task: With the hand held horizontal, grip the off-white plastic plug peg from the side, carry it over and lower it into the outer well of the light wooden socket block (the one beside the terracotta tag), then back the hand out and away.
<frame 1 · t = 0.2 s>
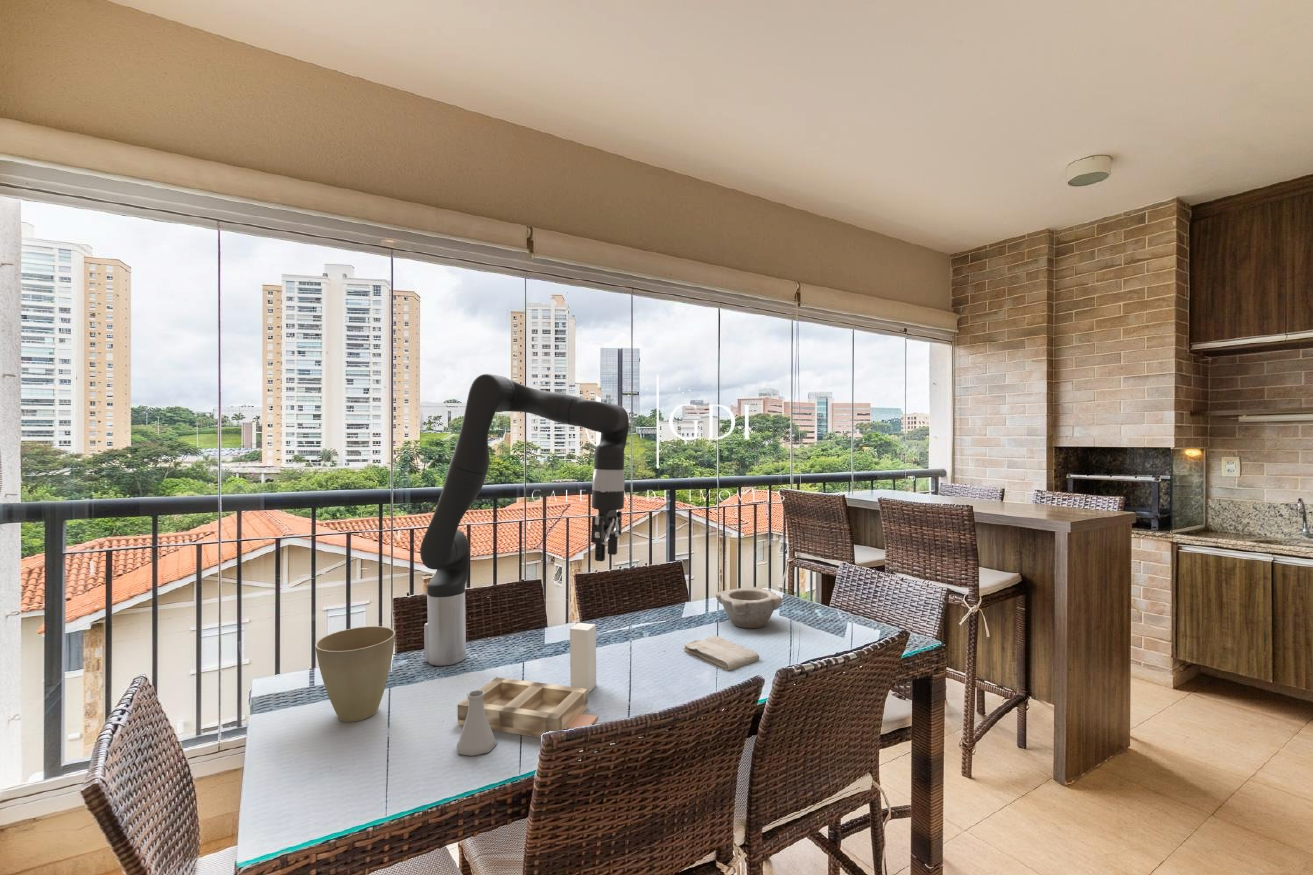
hand: (606, 557, 141), 29 cm above the table, tool pointing down, fingers open, 8 cm apart
mortar: (748, 624, 182), on the table
washcloth: (720, 658, 156), on the table
plant pot: (357, 714, 125), on the table
socket block: (524, 715, 124), on the table
plug peg: (583, 687, 137), on the table
flask: (476, 747, 112), on the table
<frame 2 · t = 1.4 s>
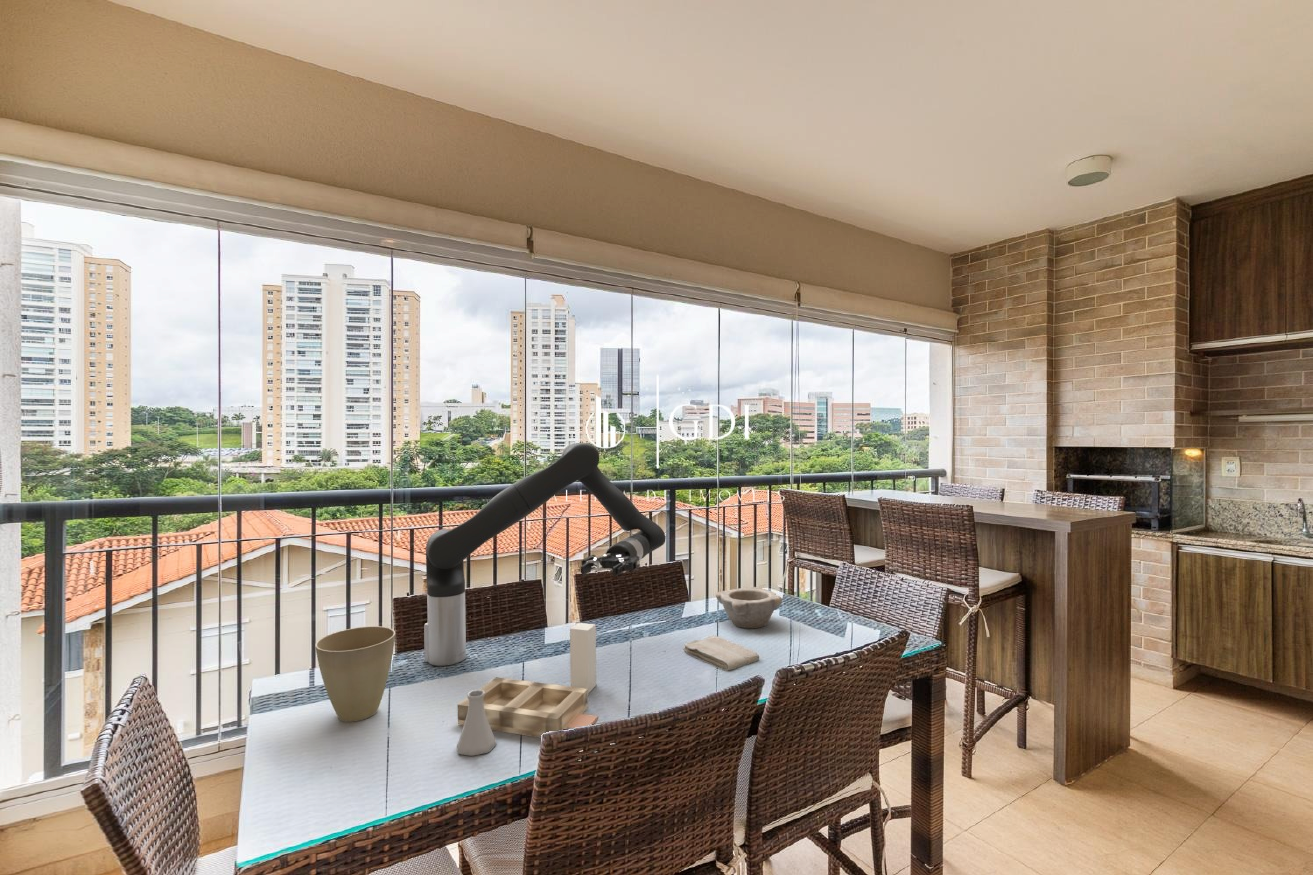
hand: (598, 571, 146), 24 cm above the table, tool horizontal, fingers open, 8 cm apart
nothing on the table moved.
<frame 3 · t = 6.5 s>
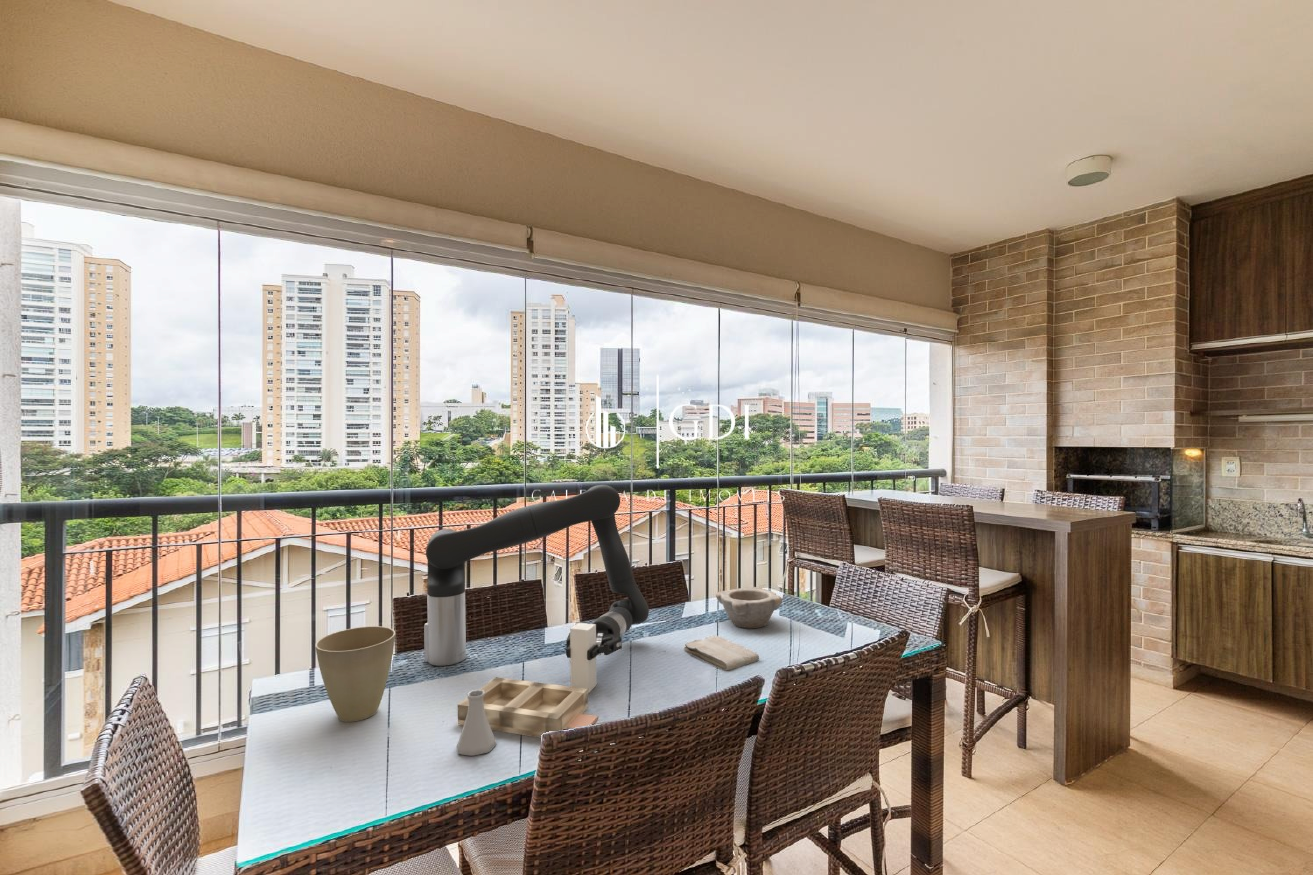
hand: (578, 654, 134), 9 cm above the table, tool horizontal, fingers closed on plug peg, 4 cm apart
plug peg: (583, 687, 137), on the table, touching gripper
everything else where it was.
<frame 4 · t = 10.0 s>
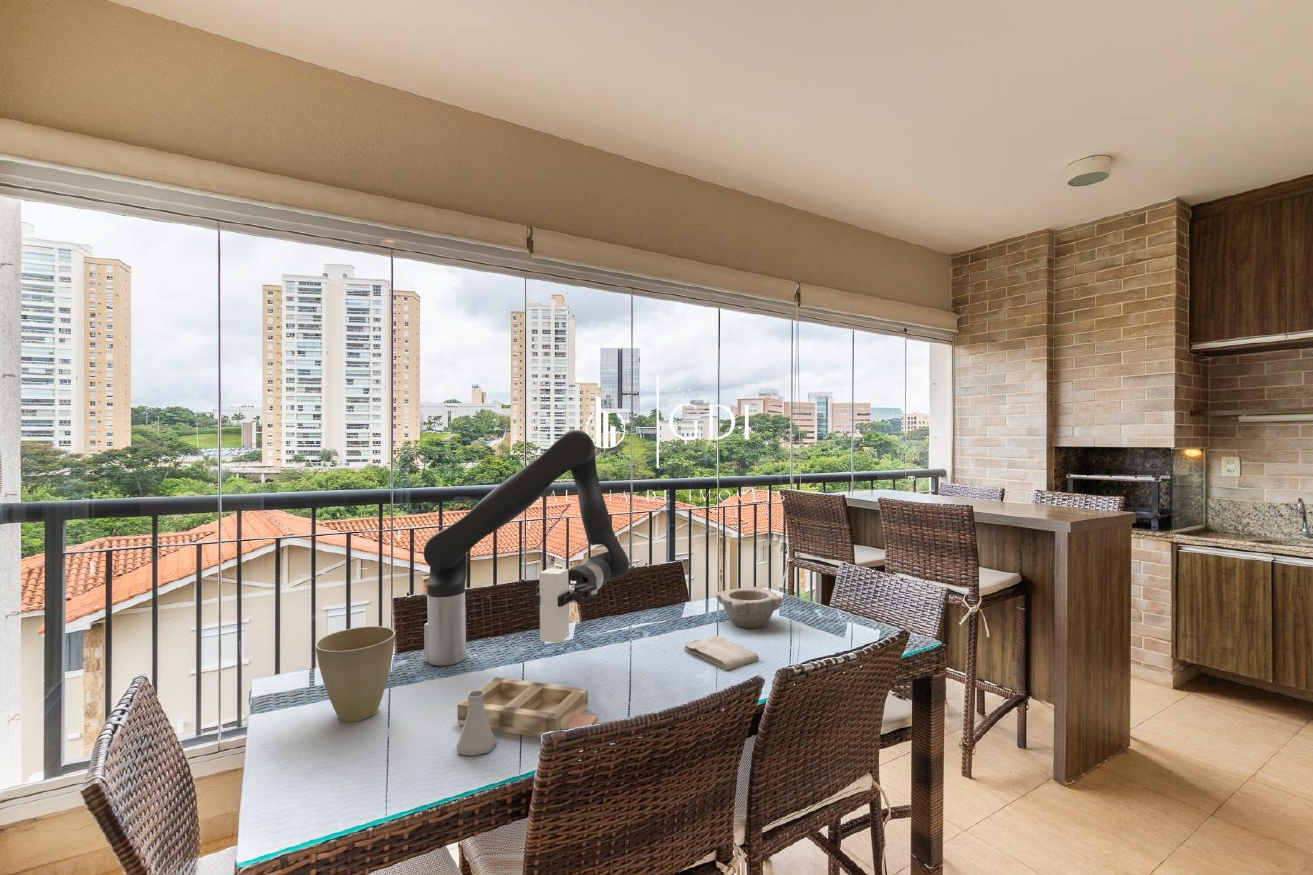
hand: (548, 600, 122), 24 cm above the table, tool horizontal, fingers closed on plug peg, 4 cm apart
plug peg: (554, 638, 125), point 15 cm above the table, touching gripper
everything else where it was.
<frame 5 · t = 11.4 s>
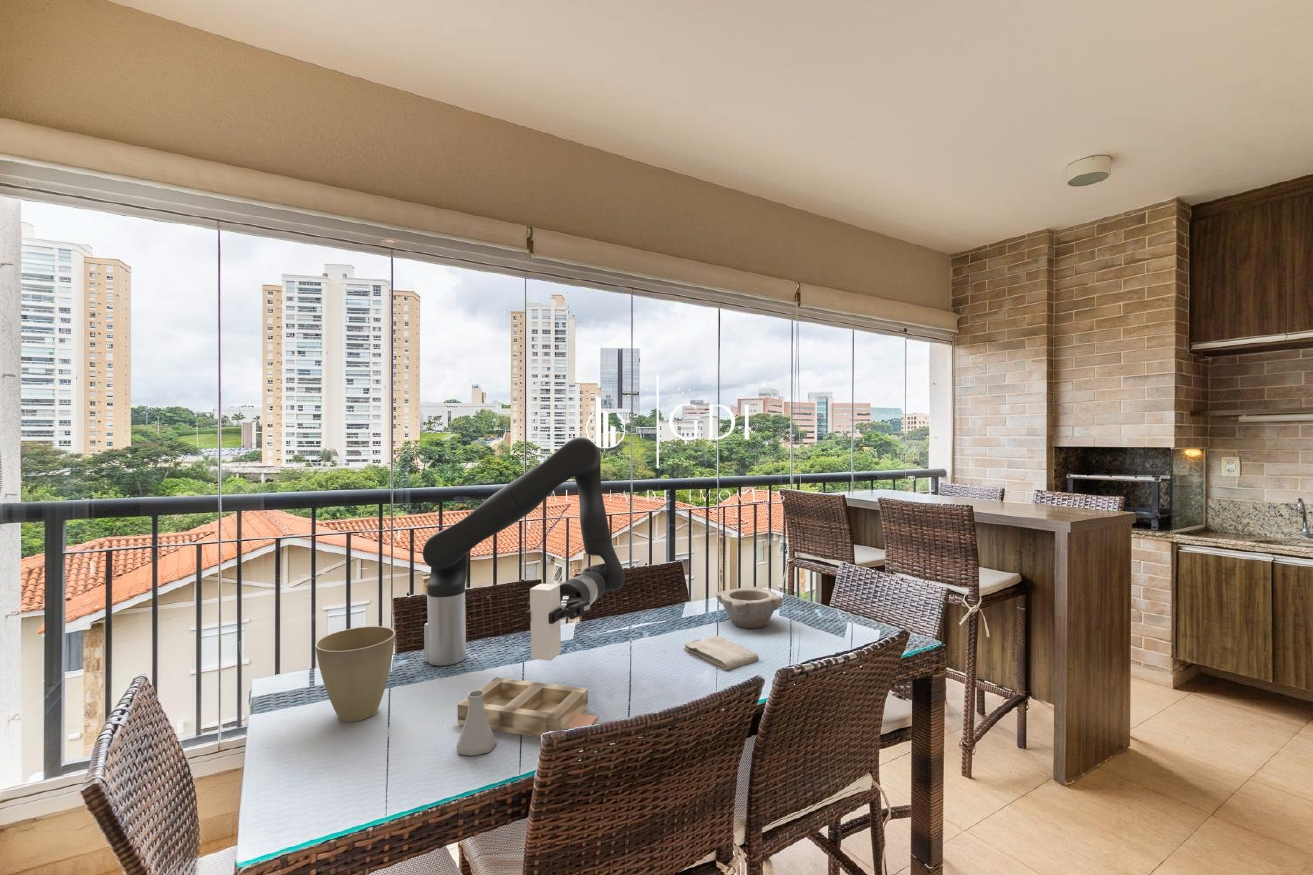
hand: (539, 617, 119), 21 cm above the table, tool horizontal, fingers closed on plug peg, 4 cm apart
plug peg: (546, 655, 122), point 13 cm above the table, touching gripper
everything else where it was.
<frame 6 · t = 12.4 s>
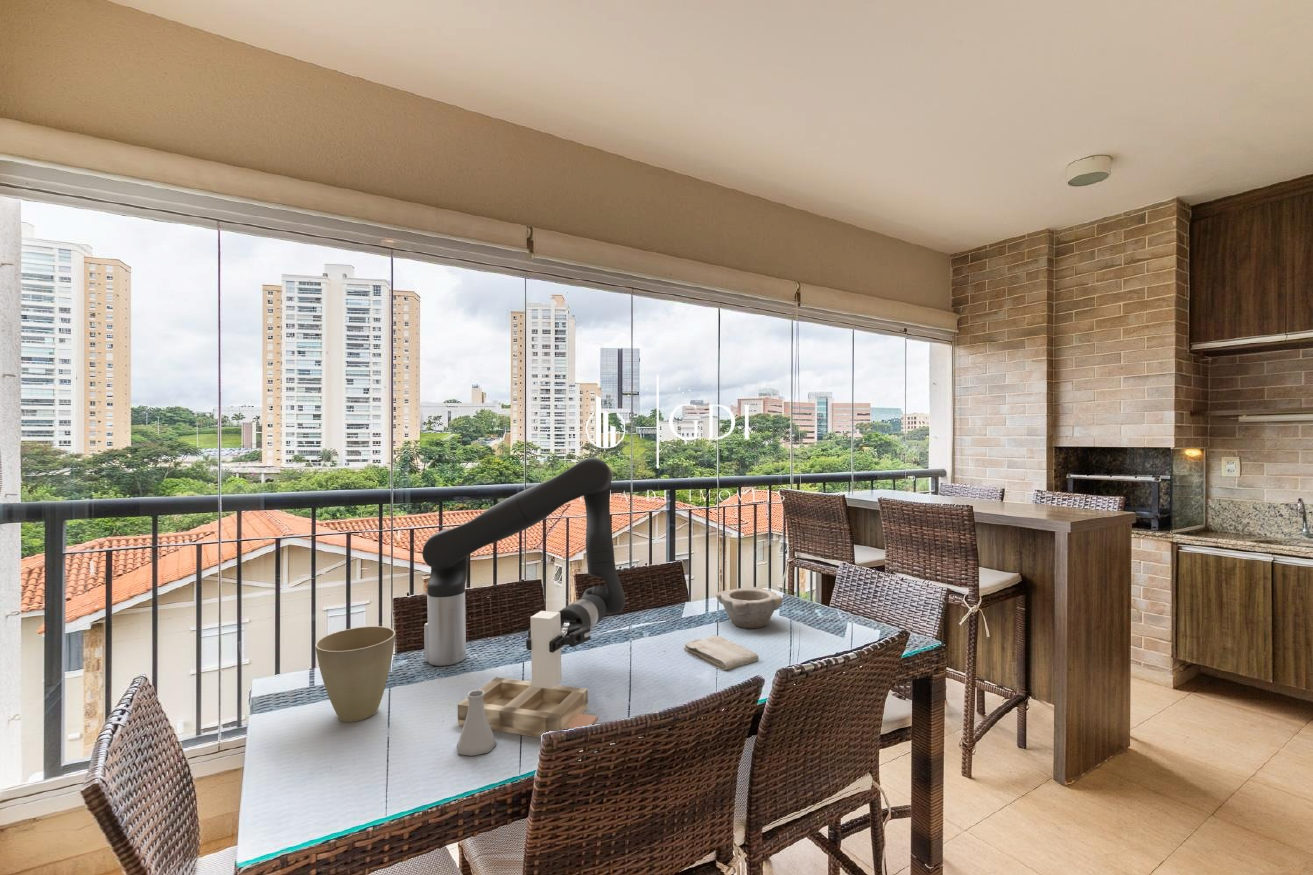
hand: (539, 646, 119), 16 cm above the table, tool horizontal, fingers closed on plug peg, 4 cm apart
plug peg: (547, 683, 122), point 7 cm above the table, touching gripper
everything else where it was.
when the fingers open (10 cm above the table, at t = 14.1 s): plug peg stays where it is, resting on socket block.
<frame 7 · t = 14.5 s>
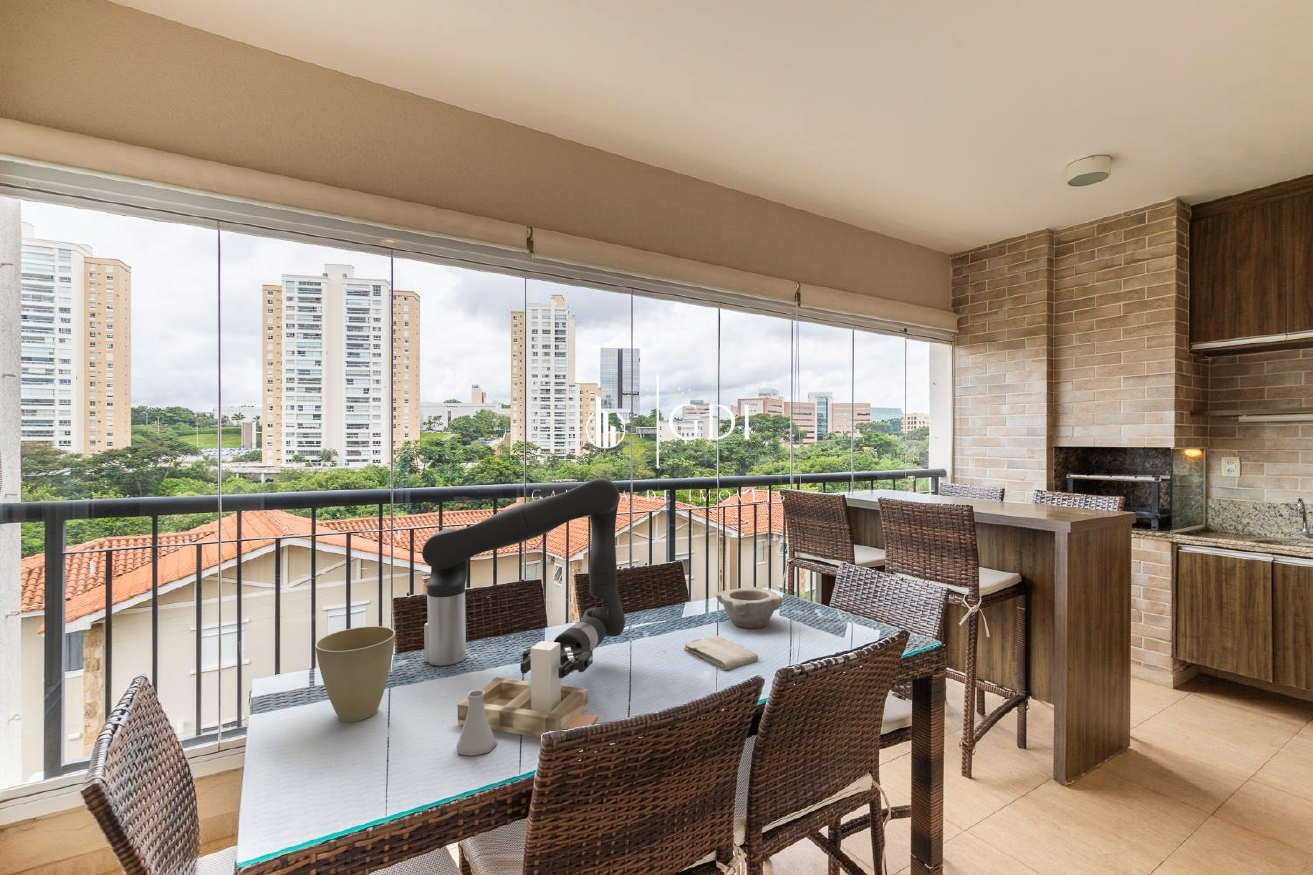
hand: (541, 671, 120), 11 cm above the table, tool horizontal, fingers open, 8 cm apart
plug peg: (546, 714, 122), point 1 cm above the table, touching socket block
everything else where it was.
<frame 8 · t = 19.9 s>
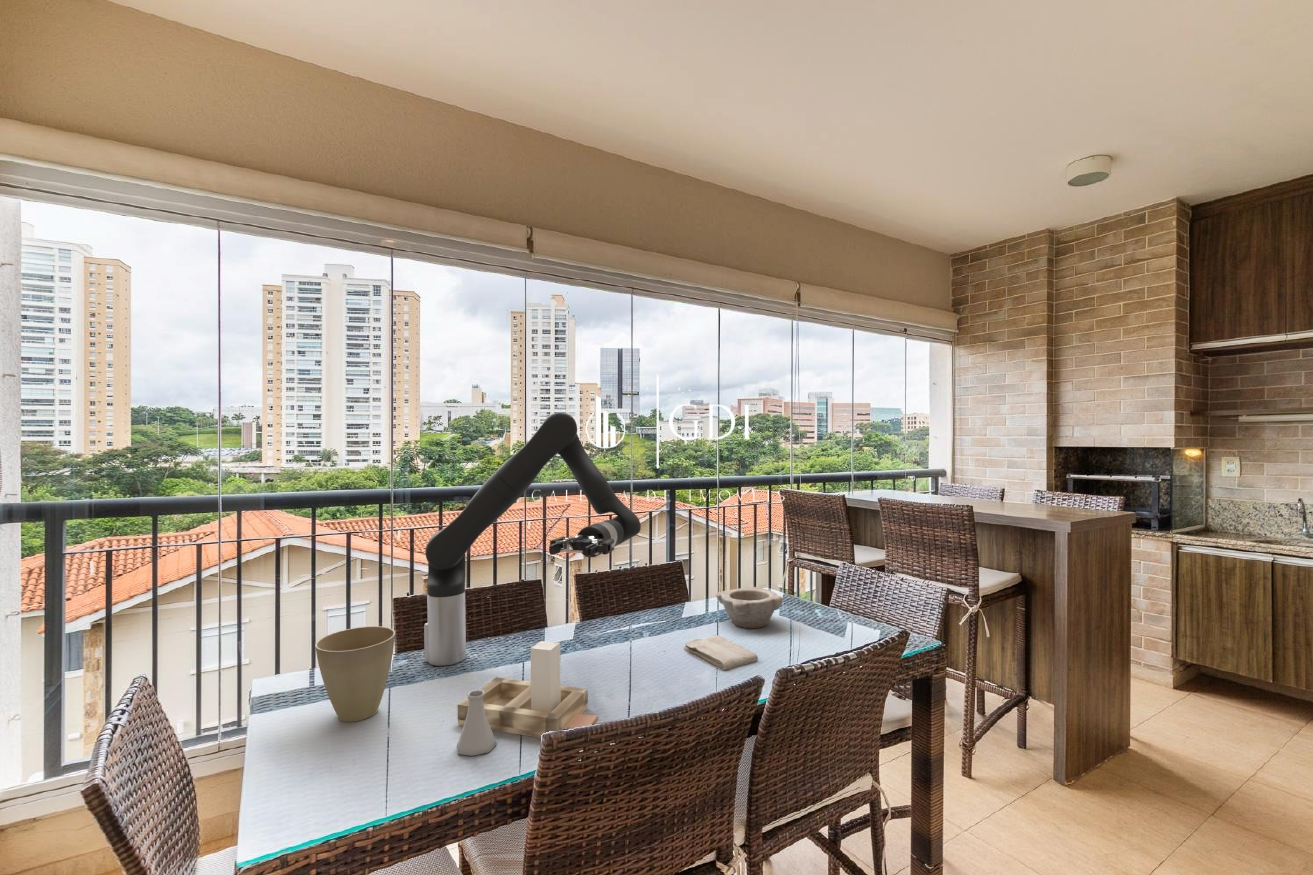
hand: (568, 551, 132), 32 cm above the table, tool horizontal, fingers open, 8 cm apart
nothing on the table moved.
at the end: plug peg 0.0 cm from the target spot on the socket block, point 1.0 cm above the socket block's base; plug peg tilted 0°; the gripper is holding nothing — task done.
